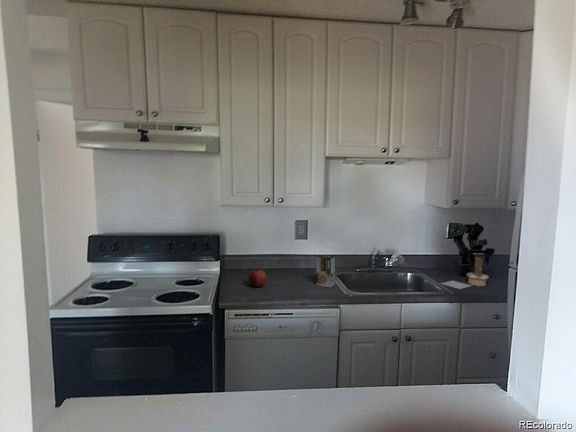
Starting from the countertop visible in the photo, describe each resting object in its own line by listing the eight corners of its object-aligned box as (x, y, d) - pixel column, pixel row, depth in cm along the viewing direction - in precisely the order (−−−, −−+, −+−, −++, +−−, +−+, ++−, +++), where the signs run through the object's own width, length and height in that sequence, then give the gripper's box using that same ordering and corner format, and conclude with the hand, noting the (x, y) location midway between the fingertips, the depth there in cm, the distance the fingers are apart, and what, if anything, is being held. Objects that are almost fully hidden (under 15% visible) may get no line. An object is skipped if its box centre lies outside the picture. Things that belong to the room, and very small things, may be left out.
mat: (440, 284, 222) (440, 283, 222) (452, 281, 229) (452, 280, 228) (460, 289, 212) (460, 288, 212) (471, 286, 219) (472, 285, 219)
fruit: (249, 283, 215) (249, 265, 214) (267, 283, 214) (267, 266, 213) (246, 289, 204) (246, 270, 203) (265, 289, 204) (265, 271, 202)
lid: (470, 278, 218) (472, 260, 217) (463, 273, 229) (464, 255, 228) (492, 279, 217) (493, 261, 215) (483, 274, 228) (485, 256, 227)
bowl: (465, 283, 225) (465, 275, 224) (473, 281, 230) (474, 273, 229) (480, 287, 217) (480, 279, 217) (488, 284, 222) (489, 277, 222)
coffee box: (335, 284, 215) (336, 256, 213) (330, 287, 210) (331, 258, 208) (320, 282, 220) (321, 254, 218) (315, 285, 214) (316, 256, 212)
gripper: (461, 233, 225) (466, 255, 215) (495, 234, 223) (501, 257, 214) (456, 244, 234) (461, 266, 224) (488, 245, 232) (494, 267, 222)
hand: (479, 264), depth 221 cm, fingers open, 9 cm apart
